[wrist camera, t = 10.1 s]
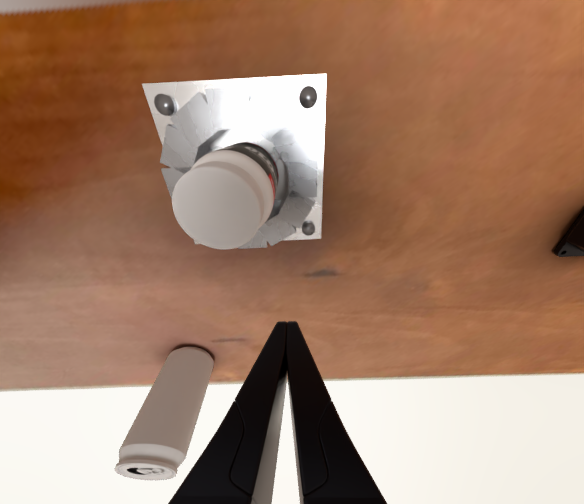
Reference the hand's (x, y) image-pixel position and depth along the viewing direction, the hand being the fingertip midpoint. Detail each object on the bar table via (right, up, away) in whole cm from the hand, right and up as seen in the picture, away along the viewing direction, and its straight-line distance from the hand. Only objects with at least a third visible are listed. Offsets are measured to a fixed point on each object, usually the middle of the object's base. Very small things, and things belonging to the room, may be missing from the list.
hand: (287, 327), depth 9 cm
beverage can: (-14, -12, +22) cm, 28 cm away
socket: (-3, +10, +8) cm, 13 cm away
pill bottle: (-3, +10, +8) cm, 13 cm away
